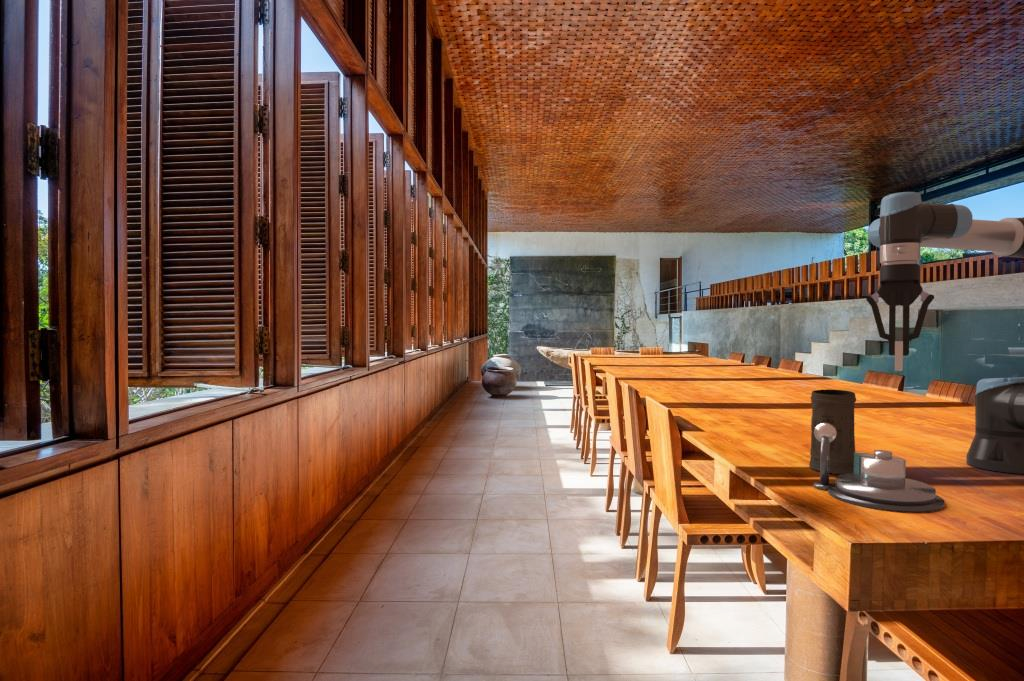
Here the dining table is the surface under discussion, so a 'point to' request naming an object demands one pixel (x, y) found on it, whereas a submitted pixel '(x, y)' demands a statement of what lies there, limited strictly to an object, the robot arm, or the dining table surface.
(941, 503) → the base plate
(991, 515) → the dining table surface
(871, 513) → the dining table surface
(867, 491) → the turntable
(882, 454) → the cover
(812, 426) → the beer stein
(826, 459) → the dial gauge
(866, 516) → the dining table surface
